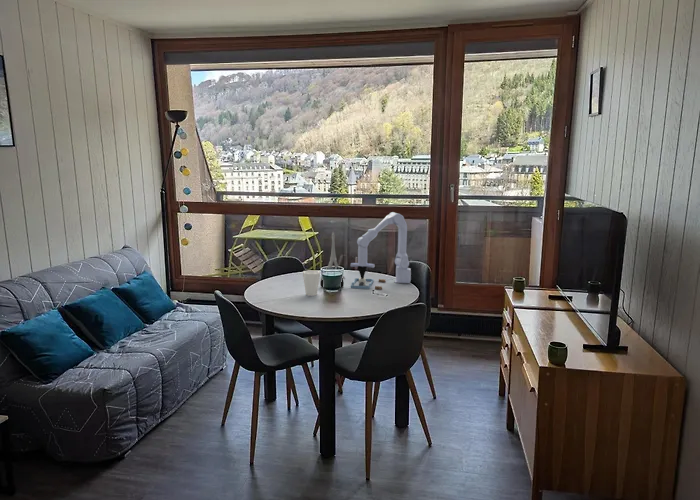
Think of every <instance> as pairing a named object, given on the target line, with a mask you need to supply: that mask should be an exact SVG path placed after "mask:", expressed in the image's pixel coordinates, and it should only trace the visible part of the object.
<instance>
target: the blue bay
mask: <svg viewBox="0 0 700 500" xmlns="http://www.w3.org/2000/svg"><path fill="white" fill-rule="evenodd" d="M359 278H360V277H359ZM359 278H358V277H357V278H354V280H353V281H352V282H351V285H350V289H364V290H367V289H368V290H371V289H370V288H371V287H372V285H373V283H374V281H375V280H374V278H366V282H369V283H368V285H365V286H359V285H355V284H356V283H357V282H359Z"/></svg>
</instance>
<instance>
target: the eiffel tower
mask: <svg viewBox="0 0 700 500" xmlns="http://www.w3.org/2000/svg"><path fill="white" fill-rule="evenodd" d="M335 237H336V235H335V231H332V232H331V252H330V253H331V254H330V257H329V262H328V265H327V267H339V265H338V261H337V255H336V246H335V245H336V244H335V239H336V238H335ZM333 264H334V265H333ZM344 278H345V276H344V275H343V280H345V279H344Z"/></svg>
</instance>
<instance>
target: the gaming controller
mask: <svg viewBox="0 0 700 500" xmlns="http://www.w3.org/2000/svg"><path fill="white" fill-rule="evenodd" d="M320 278H321V279H320V281H319V282H320V287H321V288H324V287H323V280H322V277H320ZM344 285H345V283H344V279H343V278H342V282H341V287H342V288H344Z"/></svg>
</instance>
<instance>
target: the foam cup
mask: <svg viewBox="0 0 700 500" xmlns="http://www.w3.org/2000/svg"><path fill="white" fill-rule="evenodd" d="M320 276H321V273H320V271H319V270H311V269H309V270H308V269H307V270H303V271H302V277H303V283H304V290H305V295H306V296H309V297H314V296H317V295H318V291H319V282H320Z"/></svg>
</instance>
